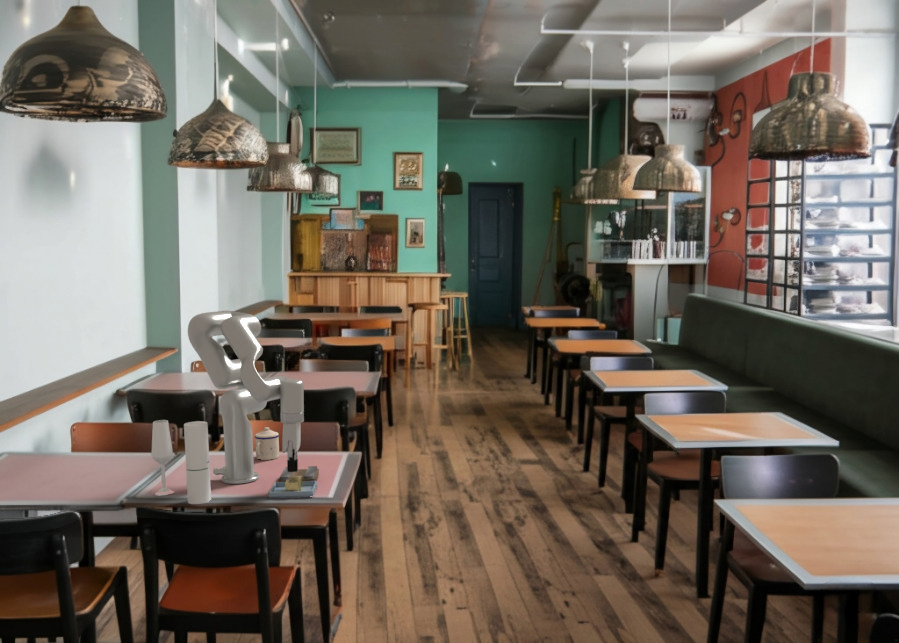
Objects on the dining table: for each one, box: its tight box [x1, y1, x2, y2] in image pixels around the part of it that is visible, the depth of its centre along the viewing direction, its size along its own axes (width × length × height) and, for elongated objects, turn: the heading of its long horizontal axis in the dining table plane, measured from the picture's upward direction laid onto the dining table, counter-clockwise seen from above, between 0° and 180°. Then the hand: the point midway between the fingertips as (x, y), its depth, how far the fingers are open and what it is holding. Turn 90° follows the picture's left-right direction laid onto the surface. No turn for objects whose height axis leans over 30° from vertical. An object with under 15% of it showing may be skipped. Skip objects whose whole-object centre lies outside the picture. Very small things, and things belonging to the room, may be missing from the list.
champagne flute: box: [151, 419, 174, 492], centre depth 282 cm, size 7×7×24 cm
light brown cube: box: [289, 476, 302, 491], centre depth 281 cm, size 4×4×4 cm
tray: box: [268, 480, 318, 499], centre depth 280 cm, size 14×12×2 cm
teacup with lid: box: [254, 426, 280, 461], centre depth 325 cm, size 12×9×12 cm
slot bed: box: [277, 465, 320, 482], centre depth 293 cm, size 12×13×4 cm
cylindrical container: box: [183, 420, 212, 505], centre depth 272 cm, size 7×7×25 cm
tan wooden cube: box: [285, 479, 300, 491], centre depth 277 cm, size 4×4×4 cm
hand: (292, 471), depth 285 cm, fingers closed
